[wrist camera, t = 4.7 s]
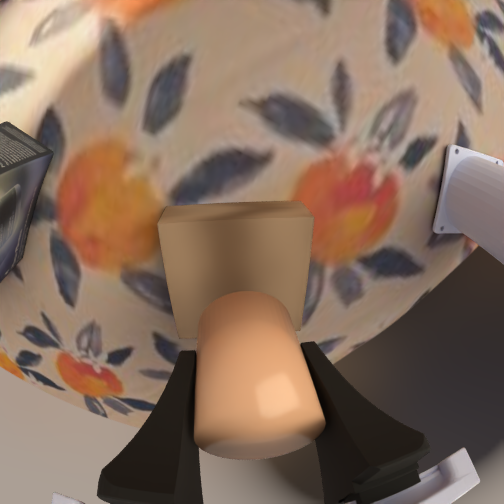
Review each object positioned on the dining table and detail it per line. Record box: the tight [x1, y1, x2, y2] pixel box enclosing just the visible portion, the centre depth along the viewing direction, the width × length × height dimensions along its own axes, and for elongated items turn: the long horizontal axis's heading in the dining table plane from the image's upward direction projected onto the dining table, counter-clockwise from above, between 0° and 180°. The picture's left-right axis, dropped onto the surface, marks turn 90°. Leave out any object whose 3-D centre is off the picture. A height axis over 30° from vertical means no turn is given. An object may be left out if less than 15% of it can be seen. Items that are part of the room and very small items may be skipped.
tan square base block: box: [157, 201, 314, 338], centre depth 19 cm, size 9×9×3 cm
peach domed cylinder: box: [194, 291, 326, 460], centre depth 11 cm, size 5×5×6 cm
